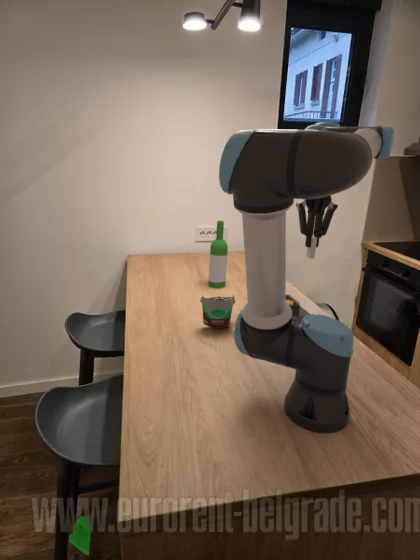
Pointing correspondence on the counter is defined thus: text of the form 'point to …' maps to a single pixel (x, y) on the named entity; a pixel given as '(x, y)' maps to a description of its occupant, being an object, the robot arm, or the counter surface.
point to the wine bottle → (218, 259)
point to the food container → (217, 311)
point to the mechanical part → (81, 535)
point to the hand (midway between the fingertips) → (310, 257)
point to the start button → (289, 302)
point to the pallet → (296, 308)
